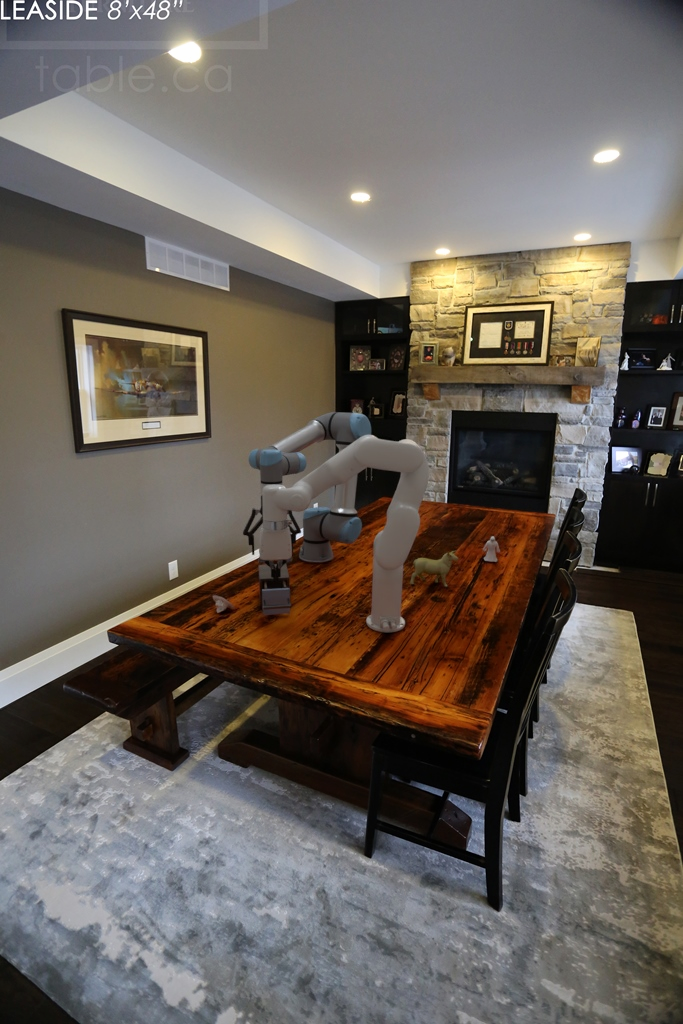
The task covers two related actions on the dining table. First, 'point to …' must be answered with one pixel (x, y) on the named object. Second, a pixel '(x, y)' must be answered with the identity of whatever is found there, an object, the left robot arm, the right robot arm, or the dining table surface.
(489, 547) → the figurine
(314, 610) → the dining table surface
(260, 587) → the cabinet
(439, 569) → the toy
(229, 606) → the seashell
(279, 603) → the drawer
